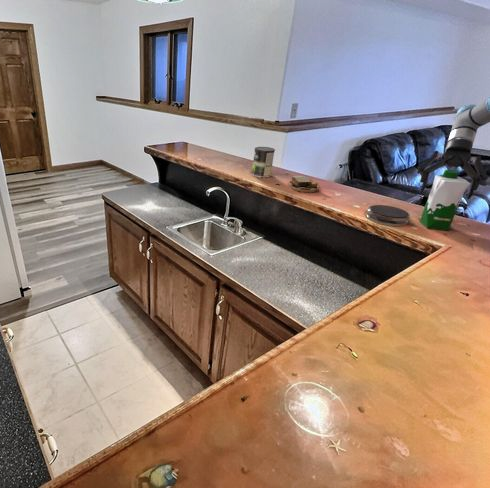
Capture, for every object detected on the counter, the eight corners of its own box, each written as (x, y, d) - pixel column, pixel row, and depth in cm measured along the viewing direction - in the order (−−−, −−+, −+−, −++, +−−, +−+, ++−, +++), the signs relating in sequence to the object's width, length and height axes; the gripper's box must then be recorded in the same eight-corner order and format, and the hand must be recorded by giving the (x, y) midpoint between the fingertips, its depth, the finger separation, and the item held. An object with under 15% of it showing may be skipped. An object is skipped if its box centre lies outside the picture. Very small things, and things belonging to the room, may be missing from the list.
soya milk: (441, 222, 132) (462, 170, 123) (453, 232, 124) (476, 177, 115) (415, 220, 134) (434, 168, 125) (425, 229, 126) (446, 175, 117)
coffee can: (253, 177, 184) (257, 150, 178) (249, 172, 193) (252, 146, 187) (273, 177, 184) (277, 150, 178) (268, 172, 193) (272, 146, 187)
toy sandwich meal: (296, 193, 161) (298, 183, 159) (285, 184, 173) (287, 175, 171) (322, 193, 162) (324, 183, 160) (310, 184, 174) (312, 175, 172)
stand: (408, 217, 136) (411, 209, 134) (406, 229, 126) (409, 220, 124) (368, 210, 143) (370, 202, 141) (363, 220, 133) (365, 212, 131)
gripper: (499, 154, 126) (486, 205, 121) (417, 146, 138) (402, 191, 134) (508, 141, 119) (494, 195, 115) (421, 133, 132) (406, 181, 128)
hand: (445, 193), depth 124 cm, fingers open, 13 cm apart
